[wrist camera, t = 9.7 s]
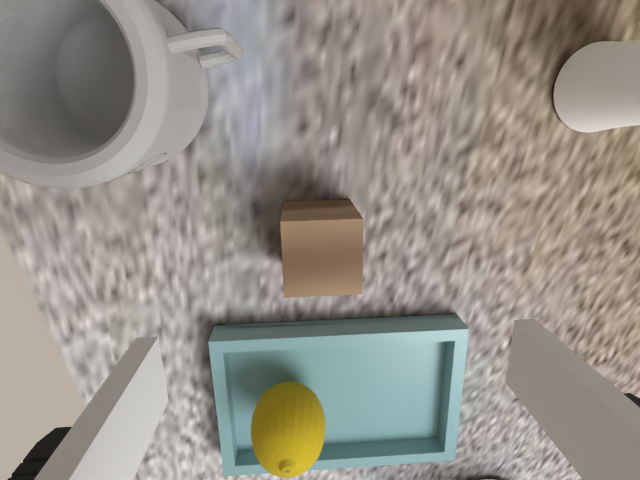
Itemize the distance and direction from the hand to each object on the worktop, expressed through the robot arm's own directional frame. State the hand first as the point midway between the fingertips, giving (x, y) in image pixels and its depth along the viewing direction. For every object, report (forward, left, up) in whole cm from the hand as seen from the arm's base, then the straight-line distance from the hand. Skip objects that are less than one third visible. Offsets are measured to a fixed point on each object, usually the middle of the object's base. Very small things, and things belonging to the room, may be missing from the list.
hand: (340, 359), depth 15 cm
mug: (-11, -11, -17) cm, 23 cm away
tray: (+14, +1, -16) cm, 21 cm away
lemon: (+13, -3, -16) cm, 21 cm away
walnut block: (0, 0, -16) cm, 16 cm away
